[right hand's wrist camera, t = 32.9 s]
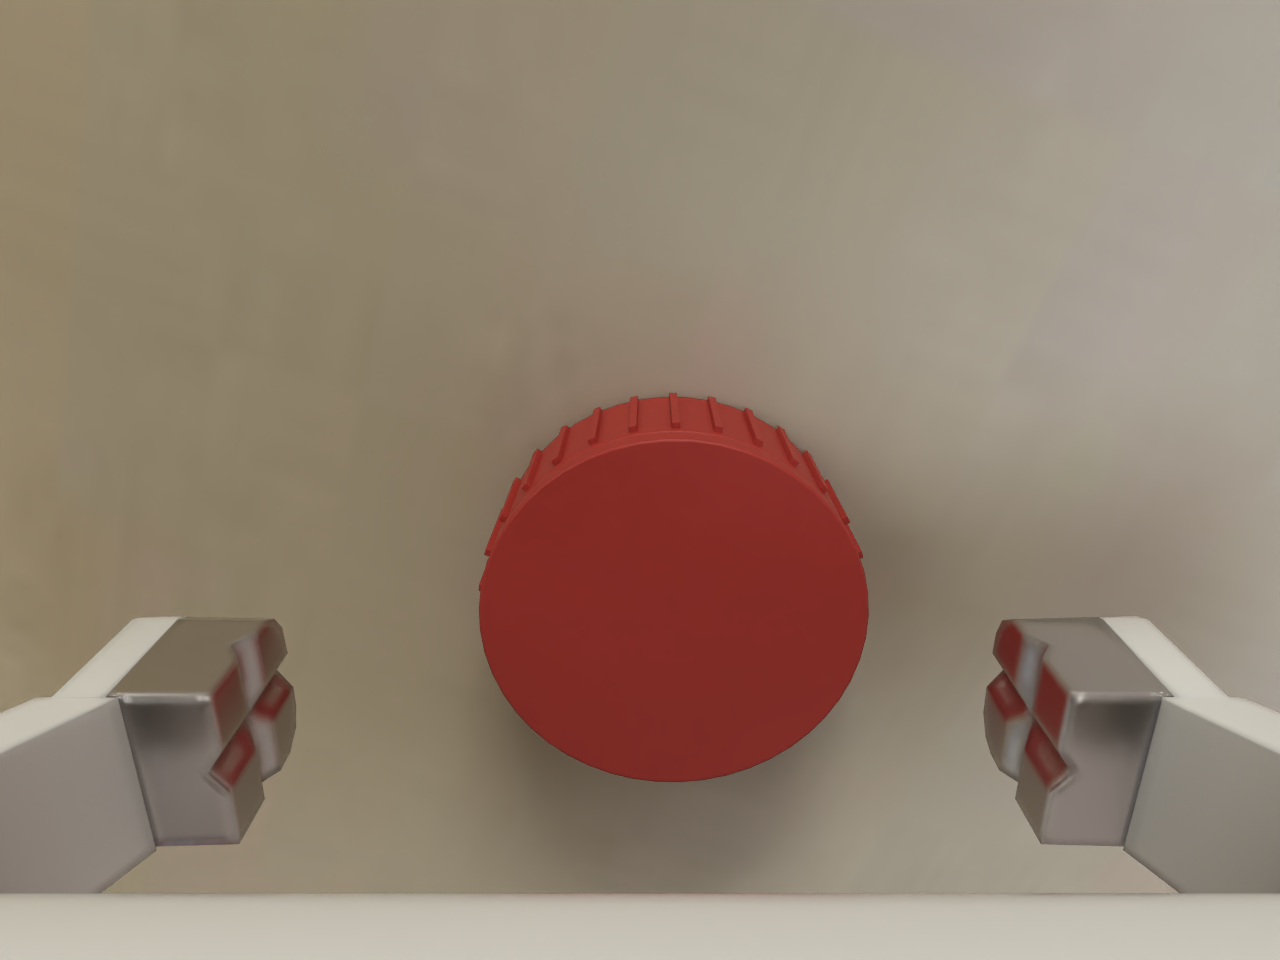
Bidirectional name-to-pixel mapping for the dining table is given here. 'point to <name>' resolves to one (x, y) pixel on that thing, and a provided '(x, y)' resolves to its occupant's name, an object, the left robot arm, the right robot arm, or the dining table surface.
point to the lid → (672, 591)
